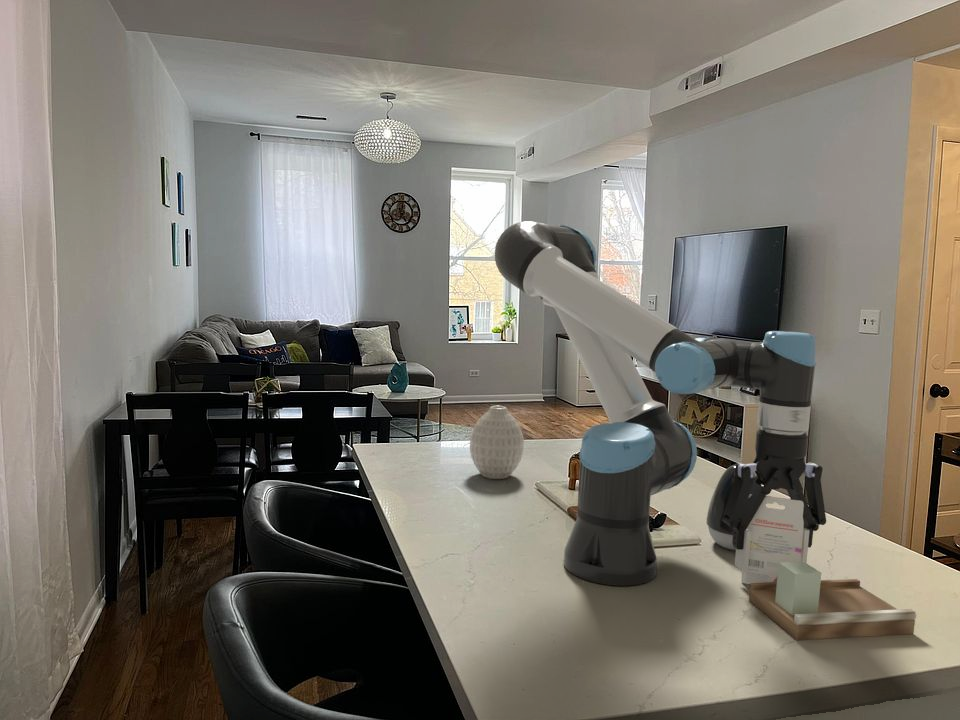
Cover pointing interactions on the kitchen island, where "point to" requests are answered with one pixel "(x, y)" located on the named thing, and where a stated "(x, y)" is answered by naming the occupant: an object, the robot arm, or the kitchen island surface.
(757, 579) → the ink cartridge box
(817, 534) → the kitchen island surface
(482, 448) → the vase
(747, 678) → the kitchen island surface
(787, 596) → the pale green block
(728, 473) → the pump dispenser
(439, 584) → the kitchen island surface
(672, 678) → the kitchen island surface
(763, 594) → the brown wooden tray
